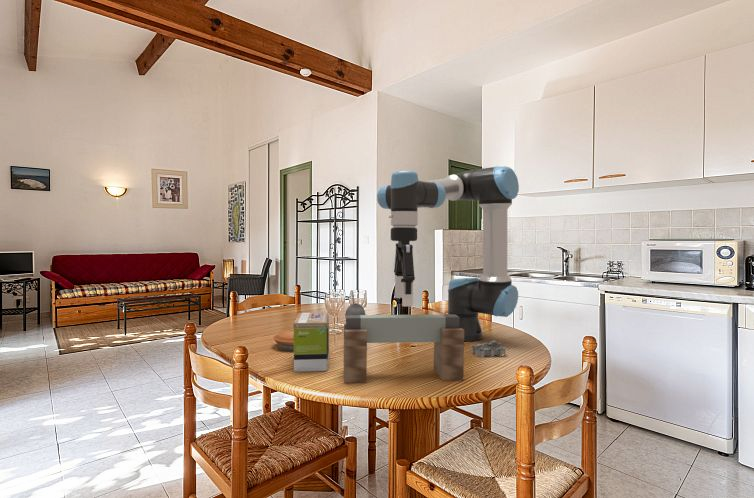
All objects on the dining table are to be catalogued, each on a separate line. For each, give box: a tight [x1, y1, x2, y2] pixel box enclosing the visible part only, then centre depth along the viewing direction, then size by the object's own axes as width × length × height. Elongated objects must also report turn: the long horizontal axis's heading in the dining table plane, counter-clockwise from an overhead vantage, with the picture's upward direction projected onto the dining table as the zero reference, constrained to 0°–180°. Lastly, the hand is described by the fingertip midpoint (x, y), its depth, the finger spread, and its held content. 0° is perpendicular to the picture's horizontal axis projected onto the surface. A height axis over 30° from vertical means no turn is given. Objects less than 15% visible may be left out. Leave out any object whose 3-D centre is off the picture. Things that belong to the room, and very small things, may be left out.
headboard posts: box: [343, 322, 465, 384], centre depth 118 cm, size 33×10×14 cm, turn 96°
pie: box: [272, 329, 294, 352], centre depth 147 cm, size 16×16×5 cm
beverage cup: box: [344, 290, 367, 317], centre depth 145 cm, size 7×7×20 cm
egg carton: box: [470, 339, 507, 358], centre depth 140 cm, size 11×8×4 cm
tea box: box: [292, 311, 330, 373], centre depth 127 cm, size 15×10×15 cm, turn 5°
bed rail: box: [345, 313, 459, 344], centre depth 118 cm, size 32×4×7 cm, turn 96°
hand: (403, 301), depth 117 cm, fingers open, 13 cm apart
